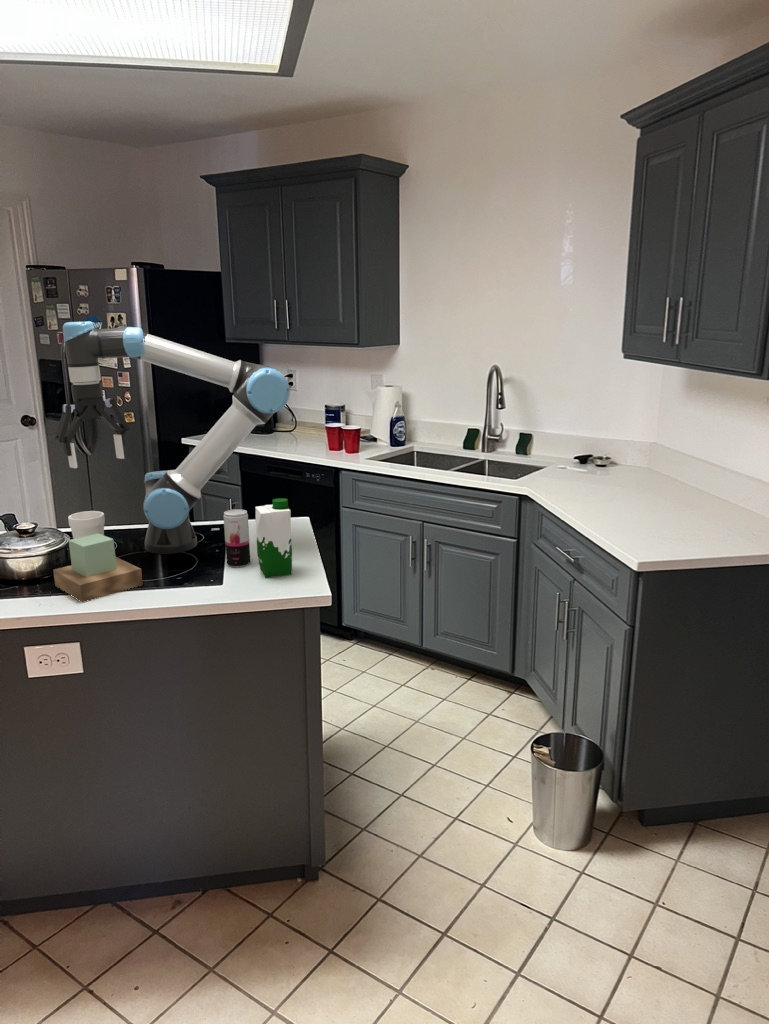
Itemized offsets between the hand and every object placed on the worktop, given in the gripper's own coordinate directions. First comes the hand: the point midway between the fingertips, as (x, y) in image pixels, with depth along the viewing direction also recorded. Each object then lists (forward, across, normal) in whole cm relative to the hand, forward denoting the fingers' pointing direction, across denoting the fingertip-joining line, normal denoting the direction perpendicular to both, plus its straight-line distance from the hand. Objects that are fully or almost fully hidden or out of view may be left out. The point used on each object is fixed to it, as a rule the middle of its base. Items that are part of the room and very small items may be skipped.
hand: (97, 462), depth 201 cm
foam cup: (+29, +1, -10) cm, 31 cm away
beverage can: (+30, -23, +26) cm, 46 cm away
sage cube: (+25, +11, +11) cm, 29 cm away
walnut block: (+30, +11, +11) cm, 33 cm away
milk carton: (+31, -25, +40) cm, 56 cm away
